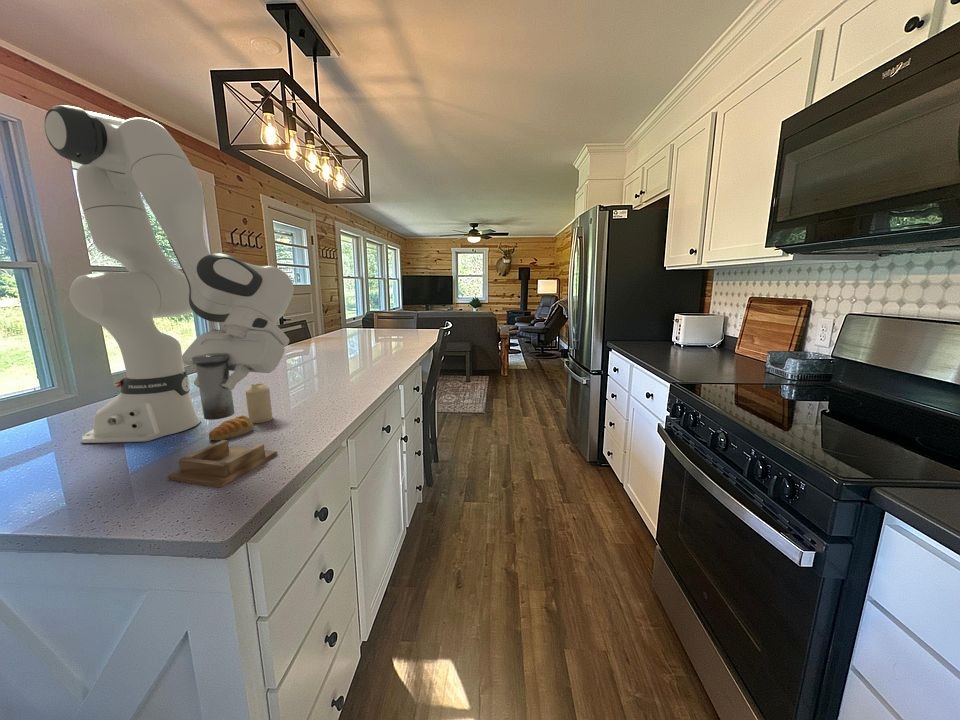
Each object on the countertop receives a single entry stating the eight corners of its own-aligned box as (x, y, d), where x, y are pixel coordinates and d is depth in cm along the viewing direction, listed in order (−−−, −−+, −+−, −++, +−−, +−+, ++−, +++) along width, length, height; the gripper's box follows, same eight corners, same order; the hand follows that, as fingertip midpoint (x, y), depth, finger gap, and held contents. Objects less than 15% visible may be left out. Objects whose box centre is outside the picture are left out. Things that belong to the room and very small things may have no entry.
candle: (262, 424, 100) (257, 387, 98) (244, 422, 101) (239, 386, 99) (277, 417, 105) (273, 382, 103) (260, 415, 106) (255, 381, 104)
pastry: (223, 444, 88) (220, 429, 87) (201, 441, 90) (198, 426, 89) (257, 429, 97) (255, 415, 96) (236, 427, 99) (234, 413, 98)
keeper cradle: (220, 487, 69) (218, 470, 68) (168, 480, 72) (165, 463, 71) (277, 454, 82) (275, 440, 82) (231, 449, 85) (229, 435, 84)
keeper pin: (195, 421, 71) (185, 359, 69) (208, 411, 77) (200, 353, 74) (230, 418, 73) (222, 357, 70) (241, 409, 78) (233, 352, 76)
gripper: (196, 320, 80) (156, 375, 73) (279, 322, 76) (245, 381, 68) (218, 338, 85) (182, 391, 78) (296, 341, 81) (266, 398, 73)
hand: (212, 387), depth 73 cm, fingers closed on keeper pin, 5 cm apart
